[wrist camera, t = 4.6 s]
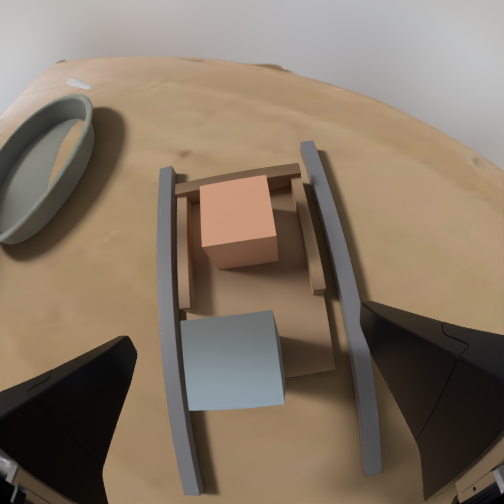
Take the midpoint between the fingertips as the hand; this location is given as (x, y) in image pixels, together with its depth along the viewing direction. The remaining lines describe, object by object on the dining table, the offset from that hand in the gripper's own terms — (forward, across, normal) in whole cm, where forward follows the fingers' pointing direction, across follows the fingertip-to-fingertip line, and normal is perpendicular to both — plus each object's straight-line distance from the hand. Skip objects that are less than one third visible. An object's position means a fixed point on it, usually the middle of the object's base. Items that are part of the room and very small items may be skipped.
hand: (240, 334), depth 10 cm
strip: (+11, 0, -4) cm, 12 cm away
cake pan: (+25, -28, +9) cm, 39 cm away
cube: (+12, 0, -1) cm, 13 cm away
